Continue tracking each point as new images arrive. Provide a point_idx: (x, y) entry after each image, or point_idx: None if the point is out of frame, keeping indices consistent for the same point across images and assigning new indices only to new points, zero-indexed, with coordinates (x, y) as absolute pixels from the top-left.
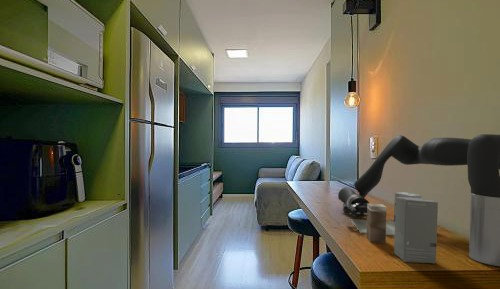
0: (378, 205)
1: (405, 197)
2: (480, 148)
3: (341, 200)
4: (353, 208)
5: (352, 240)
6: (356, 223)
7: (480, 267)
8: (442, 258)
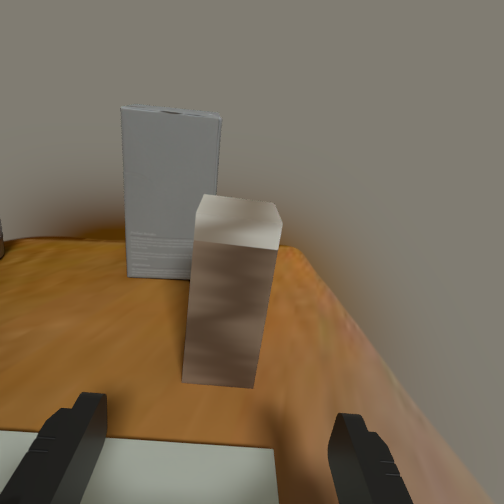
0: (232, 205)
1: (196, 112)
2: None
3: None
4: (378, 472)
5: (317, 355)
6: None
7: (40, 243)
8: (86, 267)
